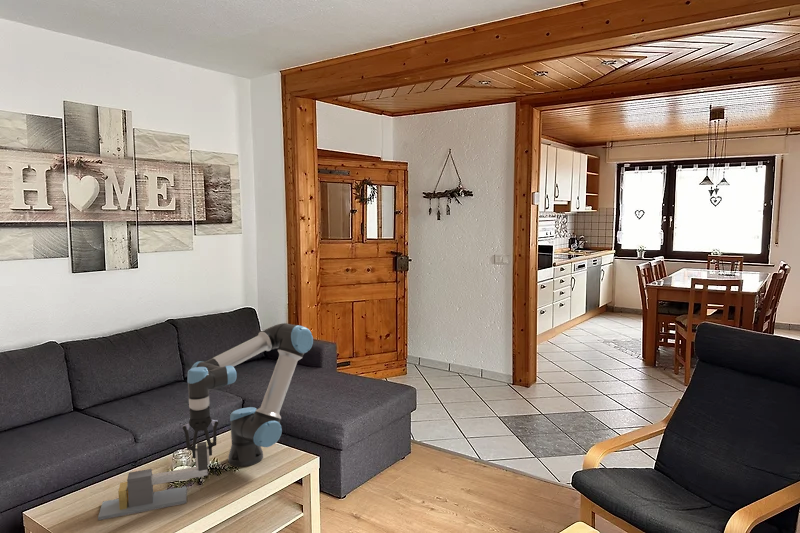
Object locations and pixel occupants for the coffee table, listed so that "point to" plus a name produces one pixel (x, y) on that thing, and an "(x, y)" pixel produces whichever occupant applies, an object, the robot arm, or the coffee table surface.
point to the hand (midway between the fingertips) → (202, 464)
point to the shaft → (187, 472)
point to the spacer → (123, 495)
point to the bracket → (142, 497)
